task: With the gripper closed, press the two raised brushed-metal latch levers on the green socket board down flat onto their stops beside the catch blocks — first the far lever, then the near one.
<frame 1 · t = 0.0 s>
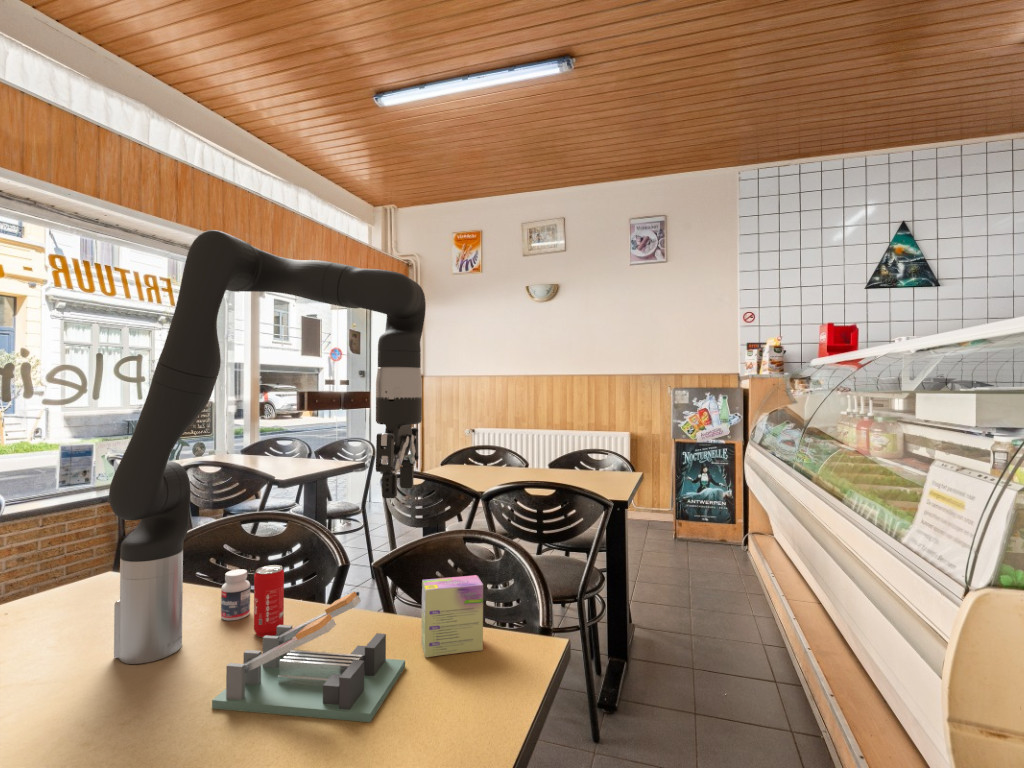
hand: (398, 492, 90), 29 cm above the table, fingers open, 8 cm apart
pill bottle: (235, 616, 110), on the table
socket board: (315, 686, 84), on the table
heatsink block: (321, 686, 84), resting on socket board
lever near: (284, 645, 80), point 8 cm above the table, hinge at 28.0°
lever far: (314, 619, 89), point 8 cm above the table, hinge at 28.0°
beverage can: (268, 633, 103), on the table
box: (451, 648, 97), on the table
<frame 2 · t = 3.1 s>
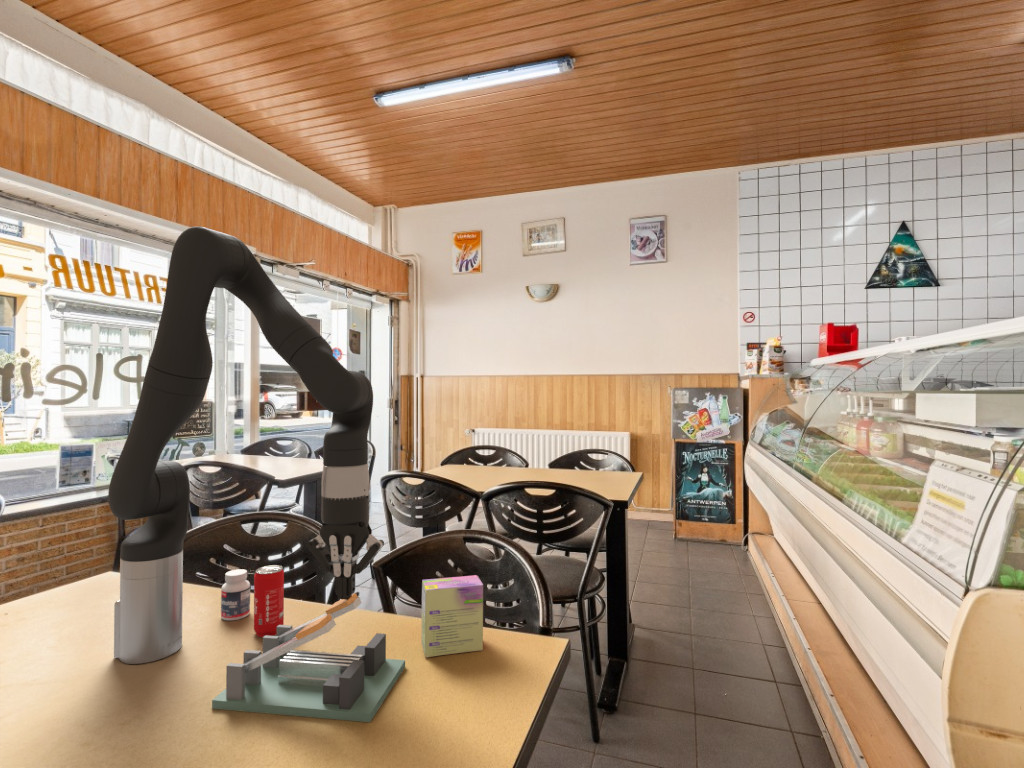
hand: (345, 597, 88), 12 cm above the table, fingers closed
lever far: (314, 620, 89), point 8 cm above the table, hinge at 26.9°, touching gripper
everything else where it was.
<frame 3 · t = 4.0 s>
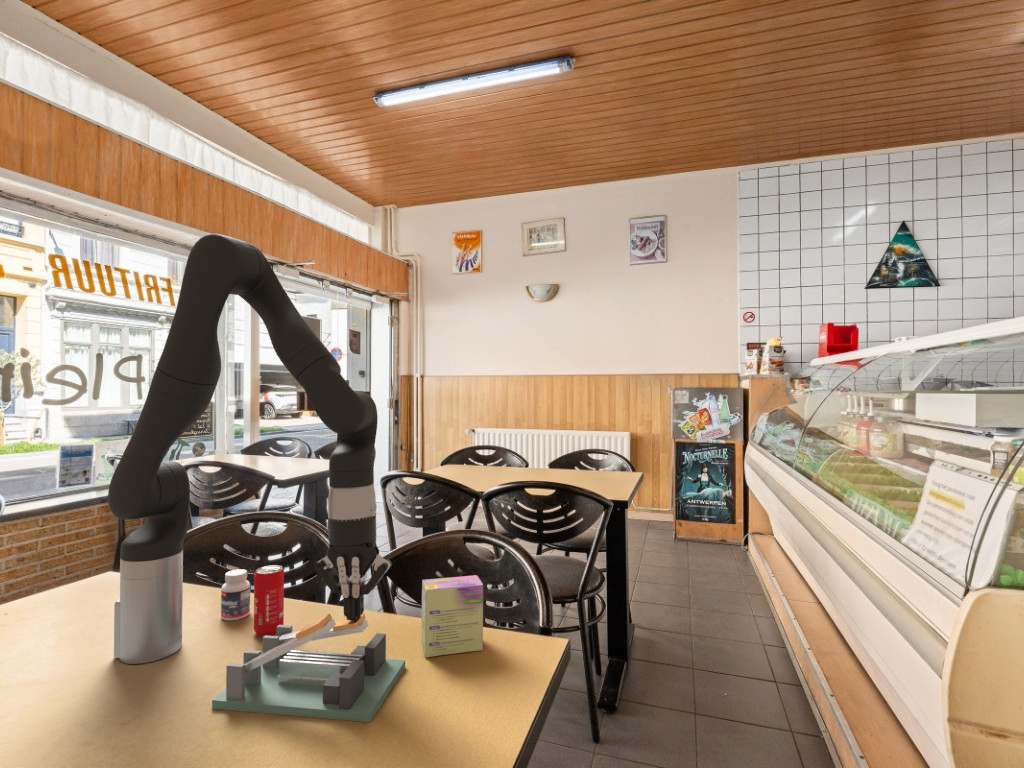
hand: (354, 618, 88), 9 cm above the table, fingers closed
lever far: (318, 631, 89), point 6 cm above the table, hinge at 12.6°, touching gripper
everything else where it was.
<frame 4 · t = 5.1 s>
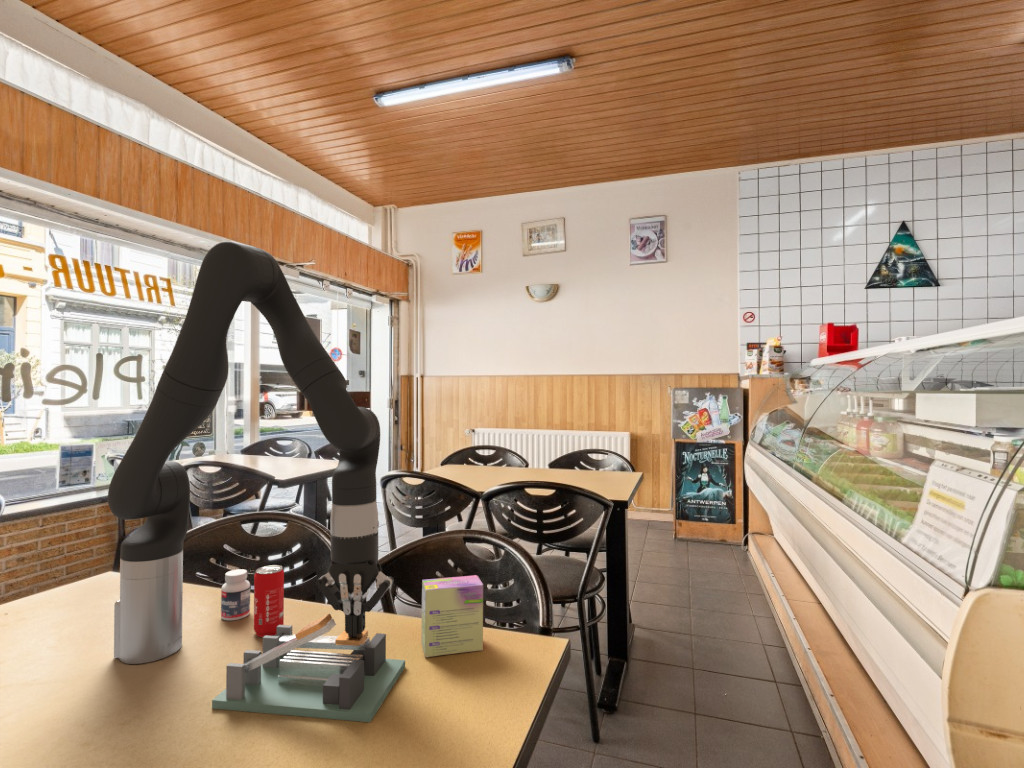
hand: (355, 635, 88), 6 cm above the table, fingers closed
lever far: (320, 639, 89), point 5 cm above the table, hinge at 1.7°, touching gripper
everything else where it was.
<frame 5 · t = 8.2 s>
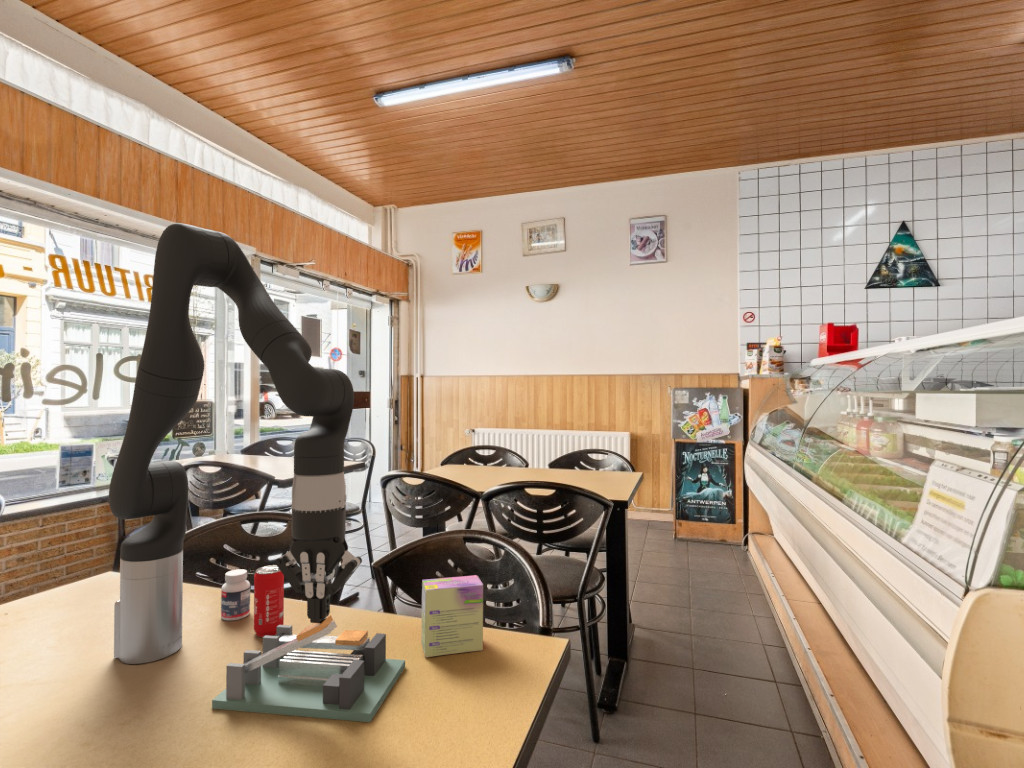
hand: (318, 620, 79), 12 cm above the table, fingers closed
lever near: (284, 646, 80), point 8 cm above the table, hinge at 26.9°, touching gripper
lever far: (320, 639, 89), point 5 cm above the table, hinge at 1.6°
everything else where it was.
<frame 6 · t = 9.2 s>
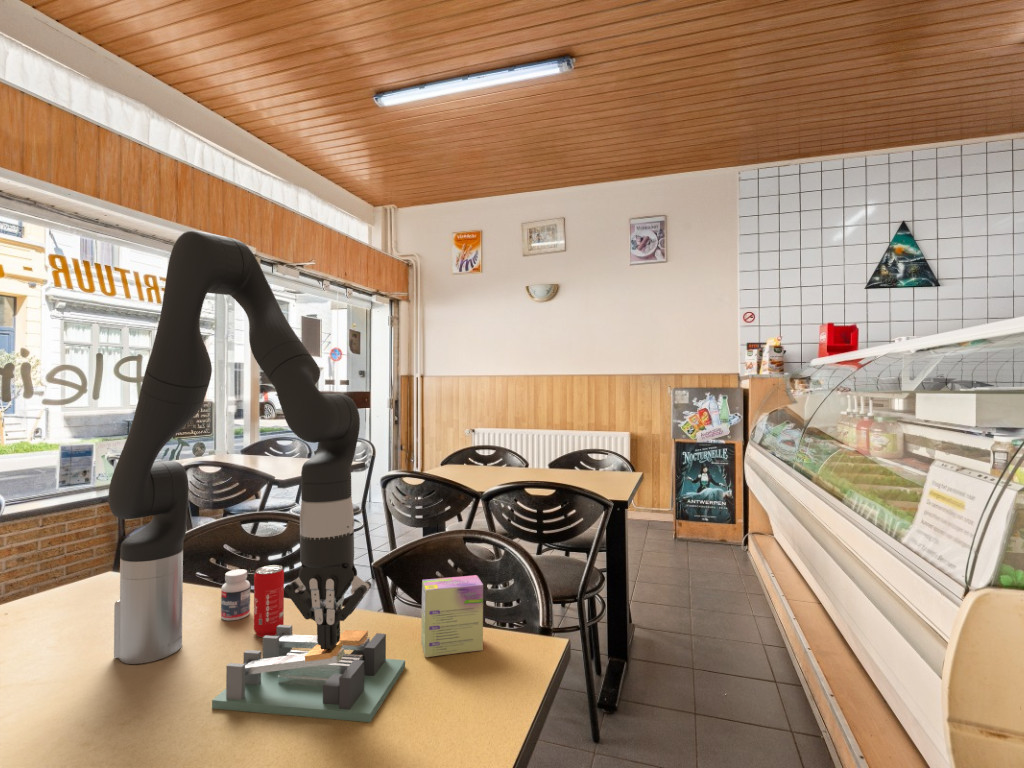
hand: (329, 647, 79), 9 cm above the table, fingers closed
lever near: (289, 659, 80), point 6 cm above the table, hinge at 10.9°, touching gripper
everything else where it was.
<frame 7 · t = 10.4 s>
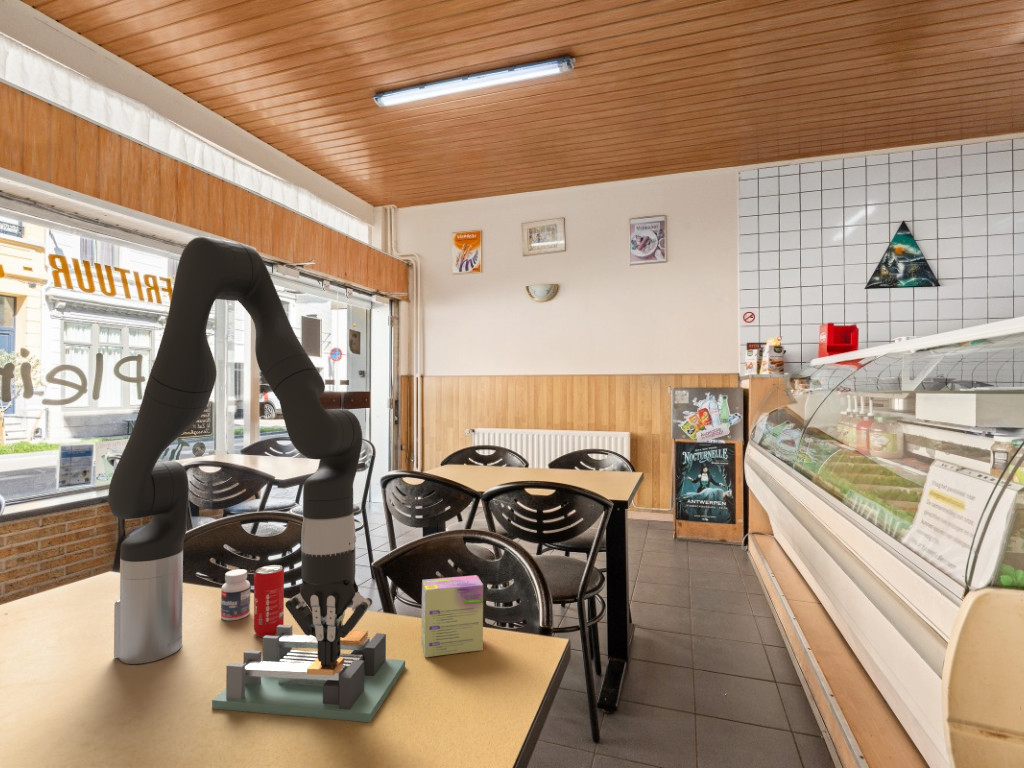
hand: (329, 663, 79), 6 cm above the table, fingers closed
lever near: (290, 667, 80), point 5 cm above the table, hinge at 1.7°, touching gripper
everything else where it was.
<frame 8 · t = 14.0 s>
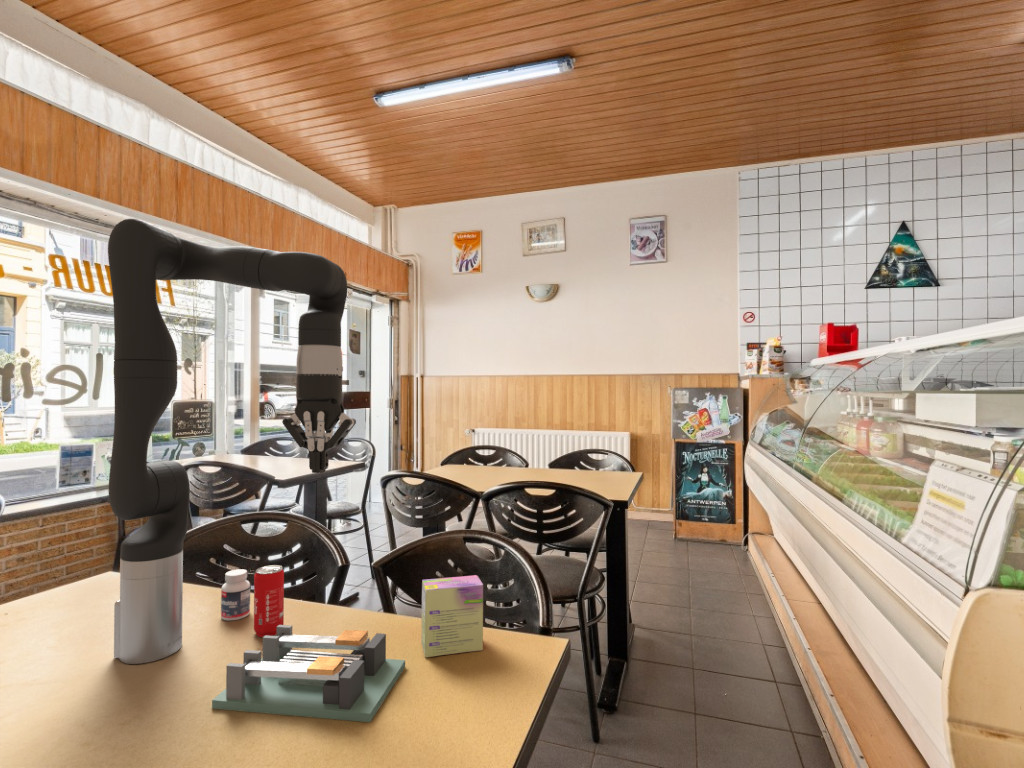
hand: (319, 472, 93), 32 cm above the table, fingers closed
lever near: (290, 667, 80), point 5 cm above the table, hinge at 1.7°
everything else where it was.
at the end: lever far at +2° (first picture: +28°); lever near at +2° (first picture: +28°) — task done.
